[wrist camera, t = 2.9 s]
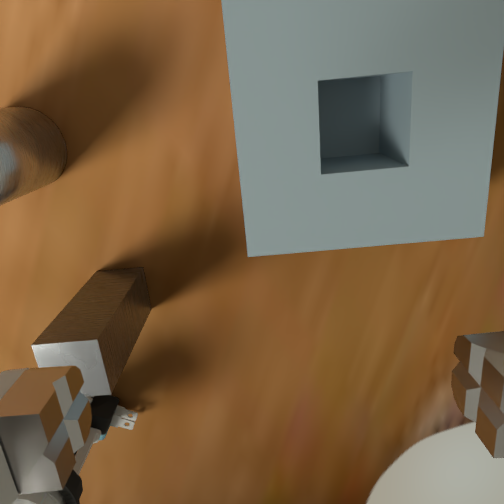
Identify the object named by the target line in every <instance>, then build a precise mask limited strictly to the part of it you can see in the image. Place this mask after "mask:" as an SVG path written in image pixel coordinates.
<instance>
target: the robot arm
mask: <svg viewBox="0 0 504 504" xmlns="http://www.w3.org/2000/svg"><path fill="white" fill-rule="evenodd" d="M454 354H455V356H456V357H457V358H458V359H459V361H460V362H459V363H458V364H457V366H456V367H455V368H454V369H453V370H452V381H451V385H452V390H453V395H454V399H455V401H456V403H457V406H458V408H459V409H460V411H461V412H462V414H463V415H464V416H465V417H467V418H469V419H470V420H472V421H474V422H476V430H475V432H476V434H477V435H478V437H479V438H480V440H481V441H482V442H483V444H484V445H485V447H486V448H487V449H488V451H489V452H490V454H491V455H492V456H493V458H504V331H500V332H490V333H481V334H471V335H461V336H457V338H456V341H455V344H454ZM83 384H84V380H83V376H82V373H81V370H80V369H79V368H78V367H77V366H58V367H41V368H30V369H29V368H23V369H13V370H7V371H3V372H1V373H0V504H12V503H13V502H14V501H15V500H16V499H17V498H19V495H20V494H30V493H39V492H49V491H58V490H63V488H64V486H65V484H66V482H67V480H68V478H69V476H70V474H71V472H72V470H73V468H74V466H75V464H76V460H75V456H74V453H75V452H76V451H77V450H79V449H80V448H81V447H82V446H84V445H85V442H86V440H87V438H88V436H89V433H90V427H91V421H92V416H91V407H90V403H89V399H88V398H87V397H85V396H84V395H83V394H82V393H81V392H80V389H81V387H82V386H83Z"/></svg>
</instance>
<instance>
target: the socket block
mask: <svg viewBox="0 0 504 504" xmlns="http://www.w3.org/2000/svg"><path fill="white" fill-rule="evenodd" d="M221 1H222V10H223V20H224V30H225V39H226V49H227V59H228V69H229V78H230V88H231V98H232V107H233V117H234V127H235V136H236V146H237V156H238V165H239V175H240V185H241V194H242V204H243V214H244V224H245V233H246V243H247V253H248V257H253V256H265V255H276V254H288V253H299V252H311V251H322V250H334V249H345V248H357V247H369V246H380V245H392V244H403V243H415V242H426V241H438V240H449V239H461V238H472V237H484V229H485V220H486V210H487V201H488V191H489V182H490V172H491V163H492V154H493V144H494V135H495V125H496V116H497V106H498V97H499V88H500V78H501V69H502V59H503V50H504V0H221Z"/></svg>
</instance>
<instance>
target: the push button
mask: <svg viewBox="0 0 504 504" xmlns="http://www.w3.org/2000/svg"><path fill="white" fill-rule="evenodd" d="M87 398H88V399H89V403H90V407H91V416H92V421H91V427H90V433H89V436H88V438H87V440H86V442H85V445H84V446H82V447H81V448H80V449H79V450H77V451H78V452H77V451H76V452H75V453H74V456H75V455H76V456H75V460H76V464H75V466H74V468H73V470H72V472H71V474H70V476H69V478H68V480H67V482H66V484H65V486H64V488H63V490H58V491H49V492H39V493H30V494H20V495H19V498H17V499H16V500H15V501H14V502H13V503H12V504H80V503H79V498H80V496H81V494H82V491H83V489H82V480H81V478H80V477H79V473H80V471H81V468H82V466H83V464H84V462H85V460H86V457H87V455H88V453H89V451H90V449H91V447H92V444H93V443H97V442H98V441H99V440H103V439H104V438H105V436H106V434H107V432H108V429H109V427H110V426H114V427H117V428H118V426H119V427H123V428H126V429H130V430H132V429H133V426H134V424H135V422H134V421H136V418H137V415H138V413H136V412H133V411H130V410H126V409H125V407H122V406H118V403H119V399H118V398H117V397H114V396H111V395H100V396H87ZM128 414H132V415H133V417H129V416H128ZM124 418H126V419H124ZM128 419H129V420H128ZM131 420H132V421H131ZM125 422H128V423H129V424H130V425H129V426H126V425H125V424H124V423H125ZM76 453H77V454H76Z"/></svg>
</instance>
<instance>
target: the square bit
mask: <svg viewBox="0 0 504 504" xmlns="http://www.w3.org/2000/svg"><path fill="white" fill-rule="evenodd" d="M150 311H151V304H150V299H149V294H148V289H147V284H146V279H145V274H144V269H143V267H138V268H127V269H115V270H104V271H96V272H95V273H94V275H93V276H92V277H91V278H90V279H89V280H88V281H87V283H86V284H85V285H84V286H83V287H82V288H81V289H80V291H79V292H78V293H77V294H76V295H75V296H74V297H73V298H72V300H71V301H70V302H69V303H68V304H67V305H66V306H65V308H64V309H63V310H62V311H61V312H60V313H59V314H58V315H57V317H56V318H55V319H54V320H53V321H52V322H51V323H50V325H49V326H48V327H47V328H46V329H45V330H44V331H43V332H42V334H41V335H40V336H39V337H38V338H37V339H36V340H35V342H34V343H33V344H32V345H31V346H32V349H33V352H34V355H35V358H36V361H37V364H38V367H39V368H41V367H58V366H77V367H78V368H79V369H80V370H81V373H82V376H83V380H84V384H83V386H82V387H81V389H80V392H81V393H82V394H83V395H84V396H85V397H87V396H100V395H111V394H112V392H113V390H114V388H115V386H116V384H117V382H118V379H119V377H120V375H121V373H122V371H123V369H124V367H125V364H126V362H127V360H128V358H129V356H130V354H131V352H132V350H133V347H134V345H135V343H136V341H137V339H138V337H139V335H140V332H141V330H142V328H143V326H144V324H145V322H146V320H147V318H148V315H149V313H150Z"/></svg>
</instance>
